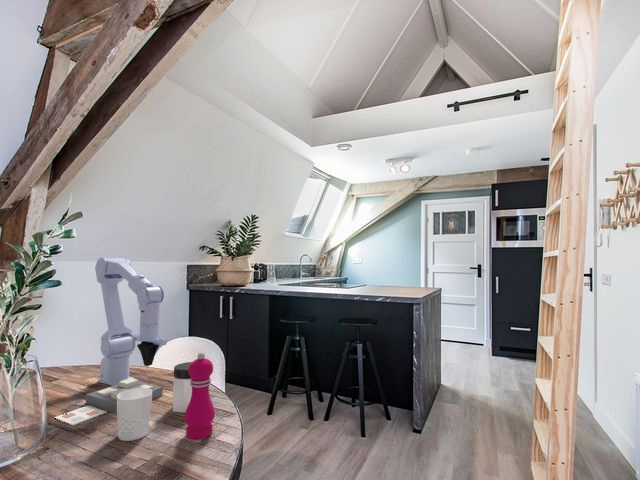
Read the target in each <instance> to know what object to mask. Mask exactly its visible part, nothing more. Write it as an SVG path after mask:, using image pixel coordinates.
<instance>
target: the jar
mask: <svg viewBox="0 0 640 480" xmlns="http://www.w3.org/2000/svg"><path fill="white" fill-rule="evenodd" d="M192 362H193V361H189V362H188V361H186V362H182V363H177V364H176V365H175V366H174V367H173V386H172V412H174V413H182V414H183V413H184V414H185V412H186V409H187V407H188V404H189V402H190V399H191V396H192V386H190V383H191V382H190V380H191V379H192V378H191V377H190V376H189V373H188V369H189V365H190V364H191V363H192Z"/></svg>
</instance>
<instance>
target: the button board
mask: <svg viewBox="0 0 640 480" xmlns="http://www.w3.org/2000/svg"><path fill="white" fill-rule="evenodd" d="M144 384H145V385H149V386H152V387H153V389H151V390H152V400H155V399H158V398H160V397H162V396H163V388H164V387H163V386H159V385H155V384H151V383H148V382H143V381H140V380H138V385H136V386H133V387H130V388H127V389H128V390H130V389H133V388H136V387H139V386H142V385H144ZM107 388H113V389H116V390H121V389H126V388H122V387H119V384H117V385H114V386H112V385H110V386H107V387H104V388H102V389H99V390H96V391H93V392H89V393H86V394H85V404H86V403H87V405H89V406H92V407H95V408H98V409H101V410H104V411H107V412H111V413H115V414H117V400H115V399H112V398H111V394H110V395H107V396H102V395H98V394H97V392H98V391H101V390H104V389H107Z"/></svg>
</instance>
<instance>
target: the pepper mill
mask: <svg viewBox="0 0 640 480" xmlns="http://www.w3.org/2000/svg"><path fill="white" fill-rule="evenodd" d="M205 357H206V354H205V353H204V352H199V353H198V354H197V359H195V360H193V361H191V362H192V363H191V364H190V365H189V369H188V373H189V376H190V377H191V378H192V379H191V380H190V382H191V383H190V386H192V396H191V399H190V402H189V404H188V407H187V409H186V412H185V413H184V423H185V424H186V425H187V426H186V429H185V431H186V432H185V436H186V437H187V438H188V439H190V440H203V439H207V438H208V437H209V436H211V435H212V434H213V430H214V429H213V427H214V426H213V423H212V422H213V421H214V419H215V417H216V413H215V407H214V404H213V401H212V398H211V396H210V385H211V383H212V381H211V380H212V377H211V375H213V372H214V365H213V363H212V360H210V359H208V358H205Z"/></svg>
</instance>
